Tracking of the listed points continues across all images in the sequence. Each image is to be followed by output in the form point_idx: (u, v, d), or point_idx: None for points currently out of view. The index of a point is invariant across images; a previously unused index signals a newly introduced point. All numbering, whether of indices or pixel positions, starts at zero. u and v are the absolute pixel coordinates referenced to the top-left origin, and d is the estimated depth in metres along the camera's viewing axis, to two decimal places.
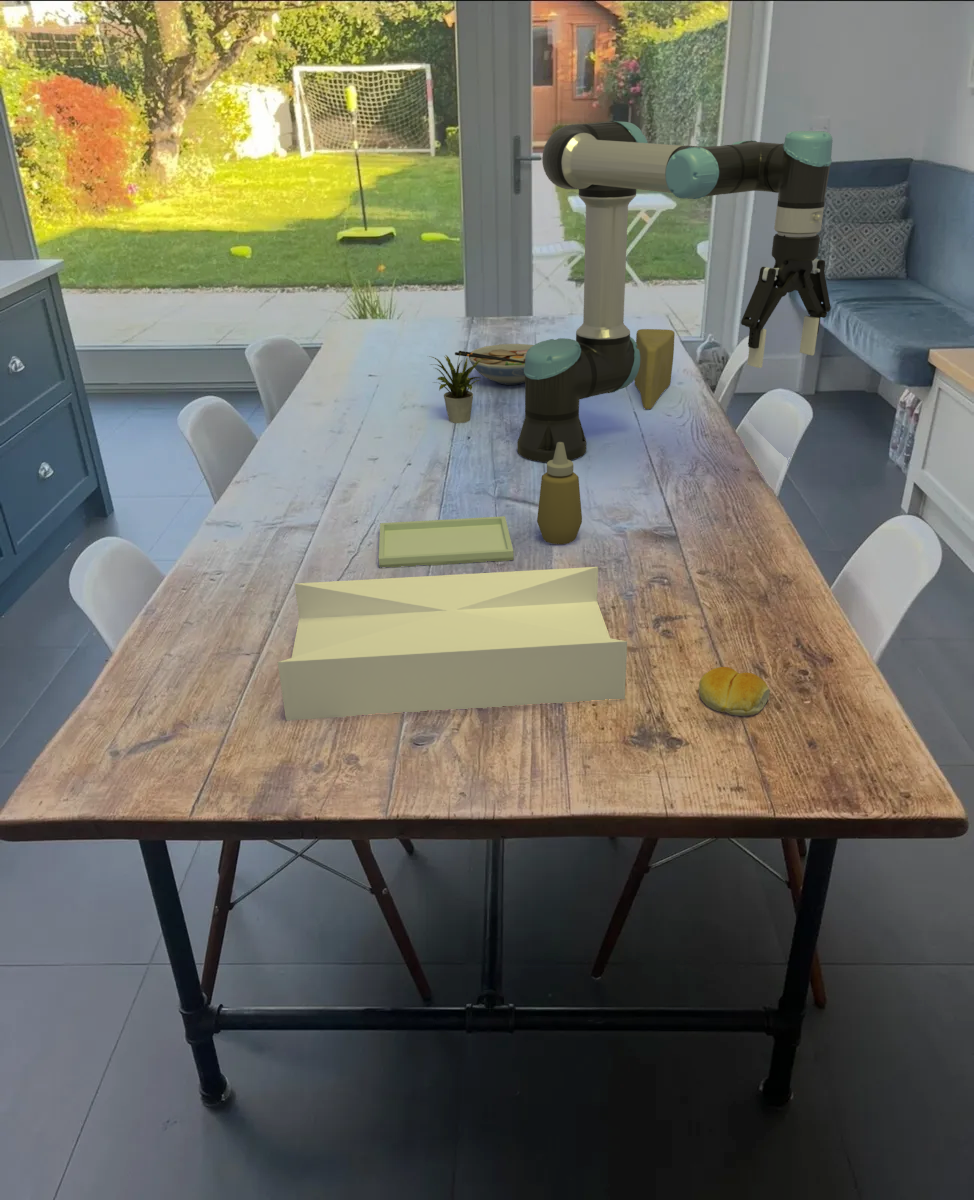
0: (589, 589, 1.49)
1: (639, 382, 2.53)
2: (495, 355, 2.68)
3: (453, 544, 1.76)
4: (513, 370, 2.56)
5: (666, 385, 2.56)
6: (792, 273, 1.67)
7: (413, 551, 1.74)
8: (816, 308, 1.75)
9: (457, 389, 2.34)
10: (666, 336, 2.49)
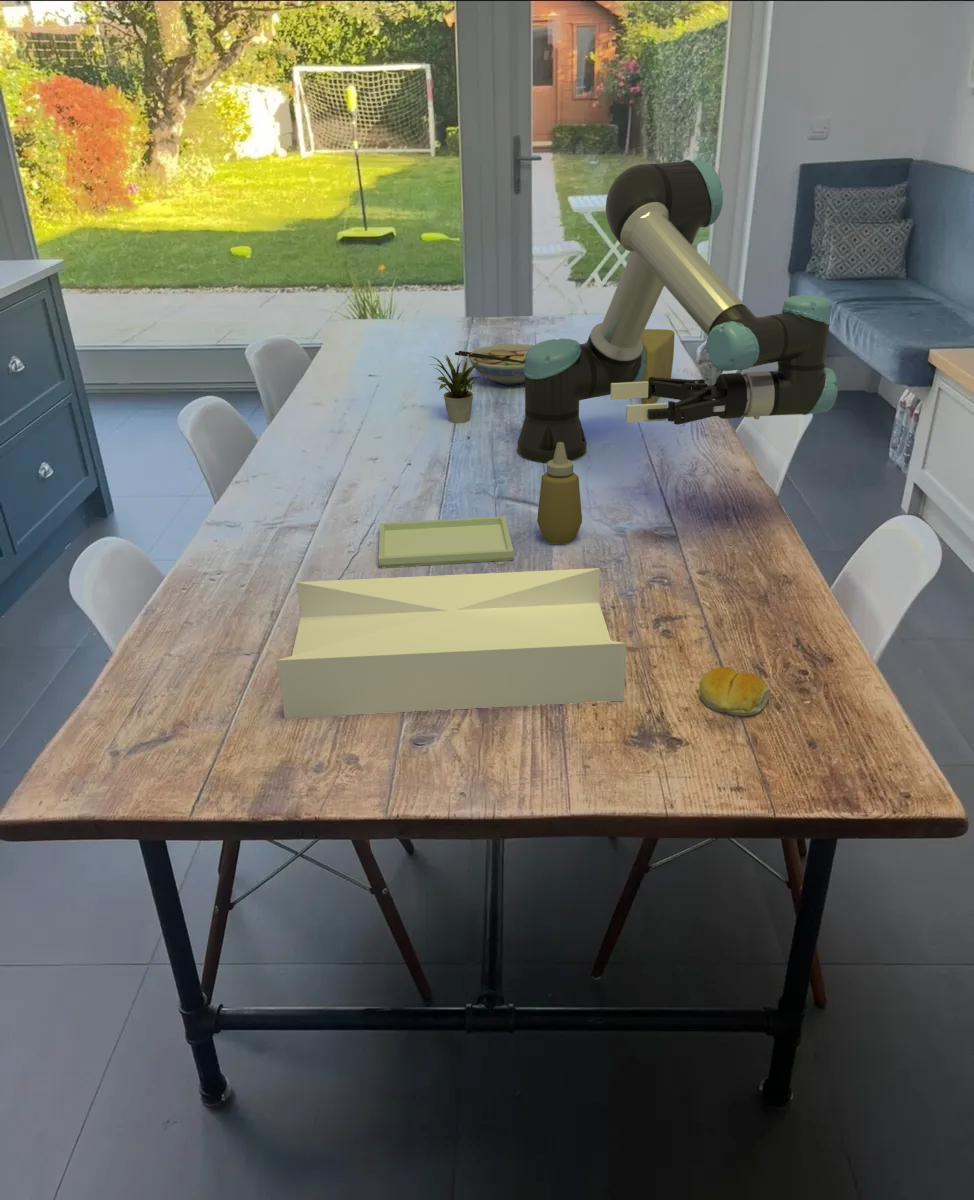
0: (590, 590, 1.49)
1: None
2: (495, 355, 2.68)
3: (453, 544, 1.76)
4: (513, 370, 2.56)
5: None
6: None
7: (413, 551, 1.74)
8: (658, 396, 1.75)
9: (457, 389, 2.34)
10: (666, 336, 2.49)
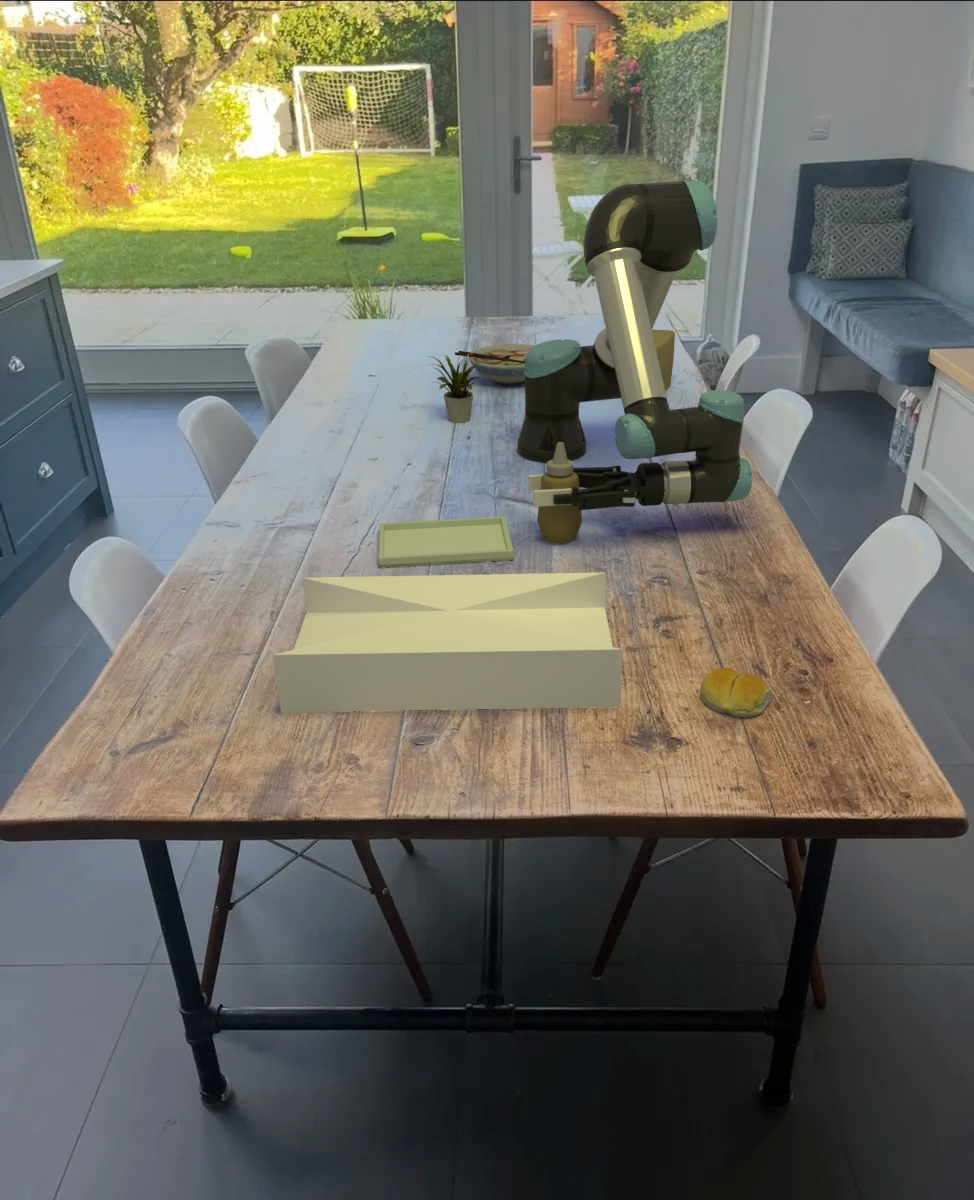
0: (596, 594, 1.48)
1: None
2: (495, 355, 2.68)
3: (453, 544, 1.76)
4: (513, 370, 2.56)
5: (666, 386, 2.56)
6: None
7: (413, 551, 1.74)
8: None
9: (457, 389, 2.34)
10: (667, 337, 2.48)
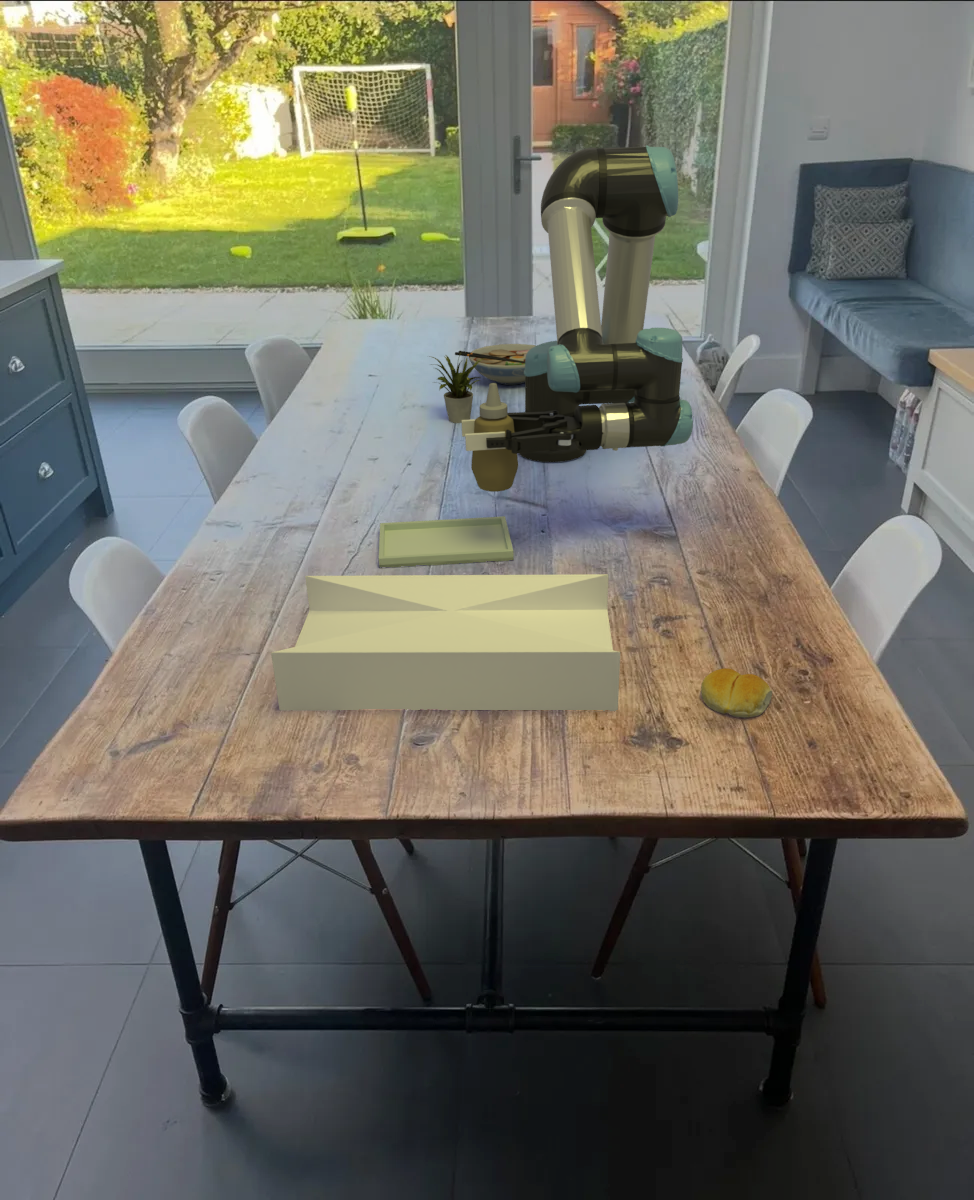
0: (598, 596, 1.47)
1: None
2: (495, 355, 2.68)
3: (453, 544, 1.76)
4: (513, 370, 2.56)
5: None
6: None
7: (413, 551, 1.74)
8: None
9: (457, 389, 2.34)
10: None
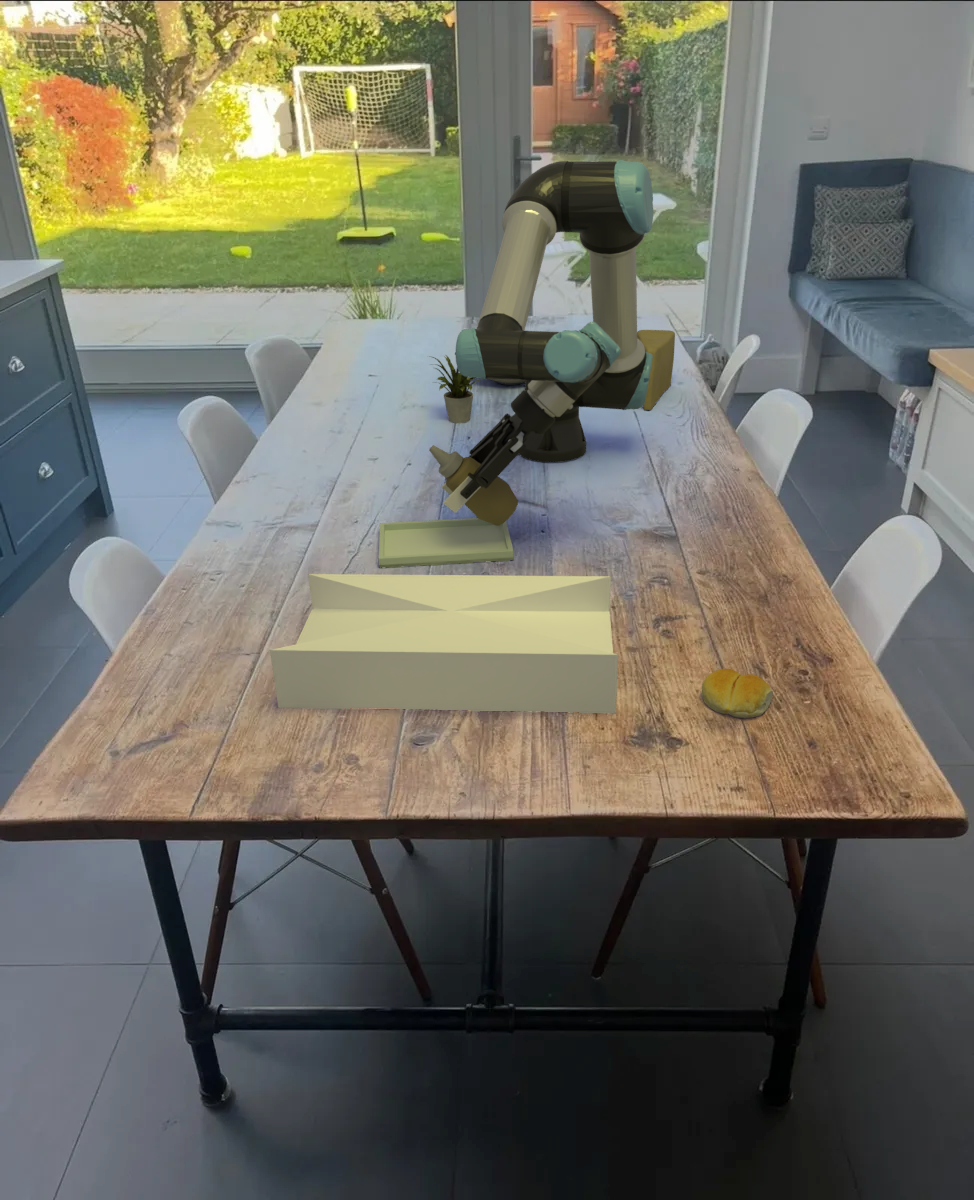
0: (600, 598, 1.47)
1: None
2: None
3: (453, 544, 1.76)
4: None
5: (666, 386, 2.56)
6: None
7: (413, 551, 1.74)
8: None
9: (457, 389, 2.34)
10: (667, 337, 2.48)
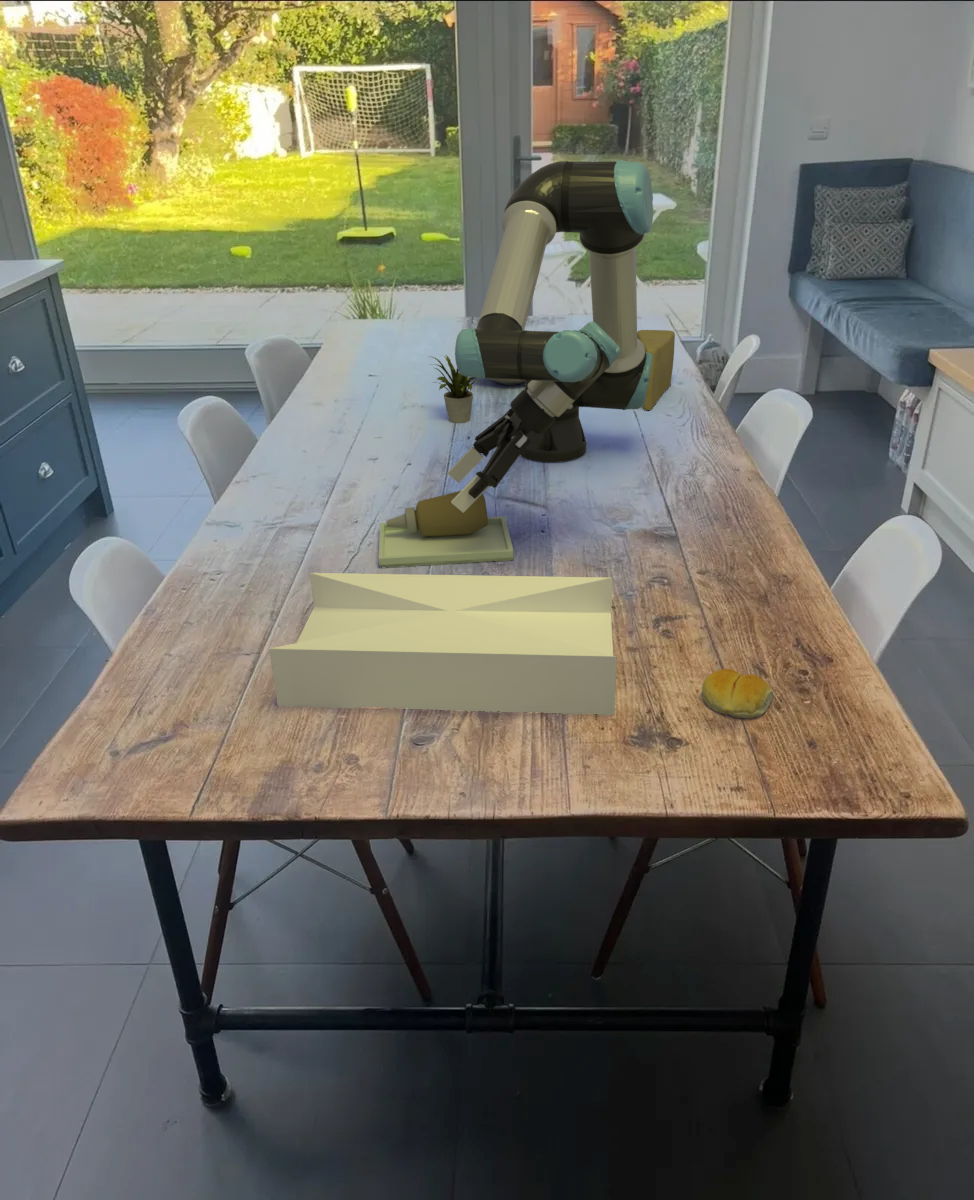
0: (602, 599, 1.46)
1: None
2: None
3: (453, 544, 1.76)
4: None
5: (666, 386, 2.56)
6: None
7: (413, 551, 1.74)
8: (489, 450, 1.76)
9: (457, 389, 2.34)
10: (667, 337, 2.48)
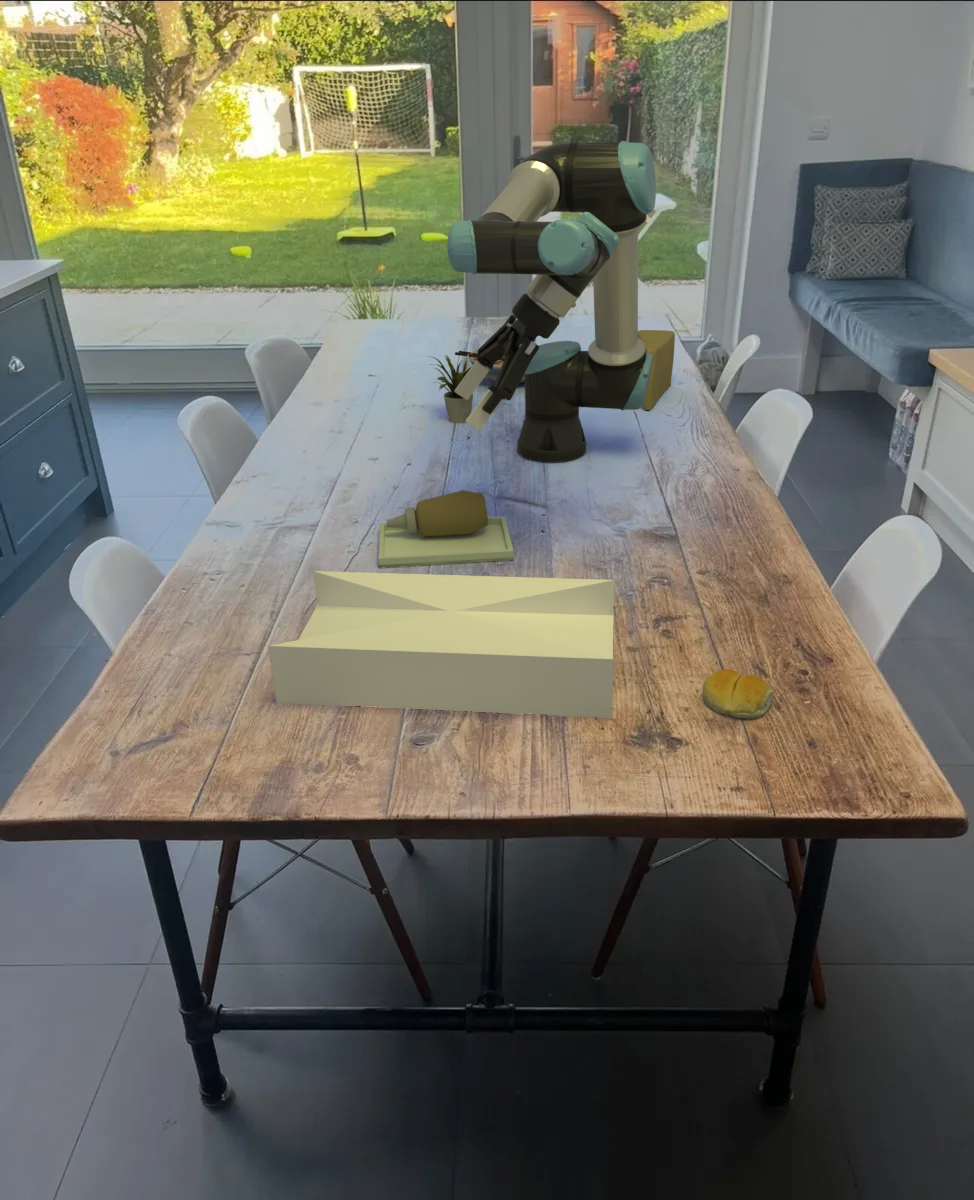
0: (604, 602, 1.46)
1: None
2: None
3: (453, 544, 1.76)
4: None
5: (666, 386, 2.55)
6: None
7: (413, 551, 1.74)
8: (495, 361, 1.71)
9: None
10: (666, 337, 2.48)
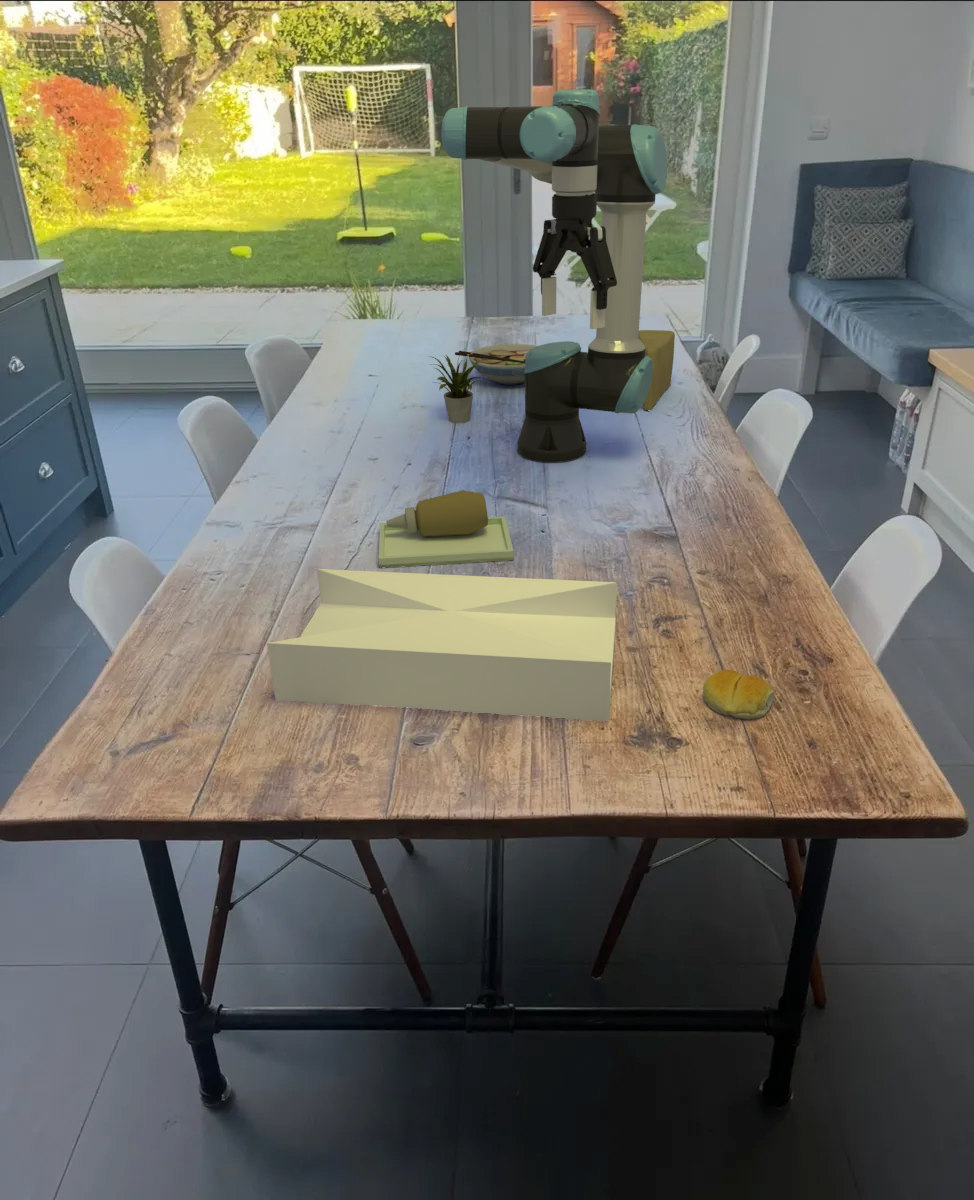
0: (606, 604, 1.45)
1: None
2: (495, 355, 2.68)
3: (453, 544, 1.76)
4: (513, 370, 2.56)
5: (666, 386, 2.55)
6: None
7: (413, 551, 1.74)
8: (556, 267, 1.78)
9: (457, 389, 2.34)
10: (666, 337, 2.48)
